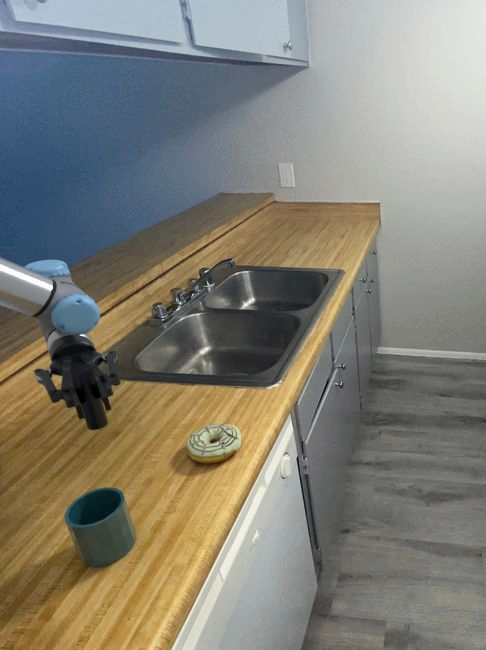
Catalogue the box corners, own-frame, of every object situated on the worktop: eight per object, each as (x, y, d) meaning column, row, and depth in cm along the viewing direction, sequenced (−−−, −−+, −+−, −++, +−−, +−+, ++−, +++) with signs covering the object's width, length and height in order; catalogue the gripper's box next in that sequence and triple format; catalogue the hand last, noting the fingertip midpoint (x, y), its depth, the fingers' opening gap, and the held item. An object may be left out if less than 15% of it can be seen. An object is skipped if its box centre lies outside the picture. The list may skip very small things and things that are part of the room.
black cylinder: (86, 423, 86) (67, 366, 80) (106, 417, 87) (89, 361, 82) (89, 432, 83) (70, 375, 78) (109, 425, 85) (92, 369, 80)
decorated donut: (251, 452, 99) (249, 438, 97) (199, 475, 93) (196, 460, 91) (230, 427, 106) (228, 413, 104) (181, 447, 99) (178, 433, 98)
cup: (77, 541, 78) (61, 502, 74) (130, 518, 83) (118, 480, 79) (84, 576, 73) (68, 536, 69) (141, 549, 77) (129, 510, 73)
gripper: (122, 355, 101) (151, 409, 85) (28, 379, 91) (41, 444, 75) (114, 324, 97) (142, 373, 82) (15, 345, 88) (26, 406, 72)
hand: (93, 407), depth 79 cm, fingers closed on black cylinder, 3 cm apart
